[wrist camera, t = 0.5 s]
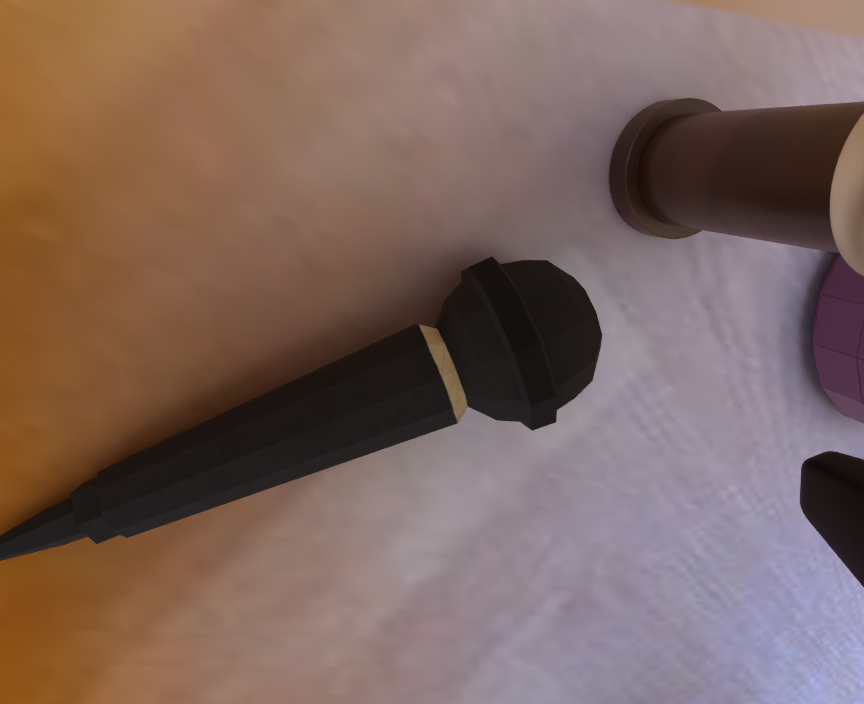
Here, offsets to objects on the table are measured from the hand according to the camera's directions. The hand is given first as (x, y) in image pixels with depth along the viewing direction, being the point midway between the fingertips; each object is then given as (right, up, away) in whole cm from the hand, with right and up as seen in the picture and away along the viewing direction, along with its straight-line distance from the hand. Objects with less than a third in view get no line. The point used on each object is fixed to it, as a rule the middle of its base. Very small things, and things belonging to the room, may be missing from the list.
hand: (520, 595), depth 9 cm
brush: (+7, +10, +15) cm, 20 cm away
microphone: (-6, +2, +13) cm, 15 cm away
